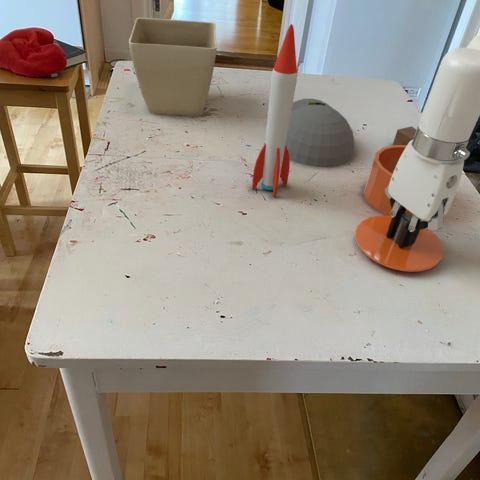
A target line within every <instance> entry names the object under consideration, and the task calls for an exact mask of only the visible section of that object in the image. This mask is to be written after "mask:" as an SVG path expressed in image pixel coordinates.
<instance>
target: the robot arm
mask: <svg viewBox="0 0 480 480" xmlns="http://www.w3.org/2000/svg"><path fill="white" fill-rule="evenodd" d="M479 118H480V31H479V32H477V34H476V35H475V36H474V37H473V38H472V40H470V42H469V43H468V44H467V46H466V47H456V48H453V49H451V50H450V51H447V52H446V53H445V55H444V56H443V58H442V60H441V61H440V64H439V66H438V69H437V72H436V74H435V77H434V81H433V83H432V86H431V88H430V92H429V94H428V97H427V99H426V102H425V105H424V107H423V110H422V113H421V116H420V119H419V121H418V125H417V127H416V129H417V130H416V133H415V135H414V138H413V140H411V141H410V142H409V143H408V145H407V146H406V148H405V150H404V151H403V153H402V155H401V157H400V159H399V161H398V163H397V165H396V167H395V170H394V172H393V175H392V177H391V180H390V183H389V185H388V186H387V187H386V188H385V193H386V195H387V197H388V198H389V199H390V205H391V208H392V210H391V216H392V220H391V222H390V225H389V228H388V232H387V234H386V237H388V238H392V237H393V236H394V233H395V231H396V228H397V226H398V223H399V221H400V218H401V216H402V214H405V213H407V211H408V210H409V211H410V212H412V213H413V216H412V219H411V222H410V225H409V227H408V228H405V229H404V232H403V234H402V237H401V239H400V242H399V244H398V247H399V248H404V247H407V246H410V245H412V244H414V242H415V241H416V238H417V236H418V234H419V231H420V230H421V229H425V228H426V229H429V230H430V231H438V230H441V229H443V228H444V227H443V226H444V217H445V216H446V215H447V214H448V212H449V211H450V208H451V206H452V203H453V201H454V199H455V197H456V193H457V192H458V187H459V185H460V182H461V179H462V175H463V170H464V164H465V160H467V159H468V158H469V157H470V154H471V152H470V151H469V150H468V148H467V146H468V144H469V140H470V138H471V136H472V133H473V131H474V129H475V127H476V124H477V122H478V120H479Z"/></svg>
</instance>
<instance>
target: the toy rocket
mask: <svg viewBox="0 0 480 480" xmlns="http://www.w3.org/2000/svg"><path fill="white" fill-rule="evenodd" d="M295 41H296V39H295V28H294V25H293V23H291V24H289V26H288V28H287V31H286V33H285V36H284V39H283V42H282V44H281V46H280V50H279V53H278V55H277V58H276V61H275V63H274V66H273V68H272V72H271V79H270V89H269V99H268V109H267V118H266V129H265V138H264V144H263V146H262V147H261V149H260V151H259V153H258V156H257V158H256V160H255V164H254V167H253V173H252V183H251V190H252V191H255V190H256V189H257V186H258V185H259V183H260V186H261V188H262V189H264V190H267V191H272V197H273V198H274V199H276V198H277V193H278V188H279V185H280V180H281V184H282V187H283V188H287V187H288V180H289V174H290V165H291V164H290V162H291V160H290V159H289V153H288V149H287V147H286V139H287V133H288V127H289V122H290V116H291V110H292V105H293V102H294V99H295V94H296V93H295V92H296V87H297V81H298V65H297V53H296V42H295Z"/></svg>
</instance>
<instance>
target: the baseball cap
mask: <svg viewBox="0 0 480 480" xmlns="http://www.w3.org/2000/svg"><path fill="white" fill-rule="evenodd" d="M286 147H287V149H288V153H289V159H290V161H292V162H293V163H297V164H301V165H304V166H309V167H316V168H331V167H337V166H341V165H342V164H343V165H344V164H346V163H347V162H349V161H350V160H351V159H352V158H353V156H354V150H355V139H354V132H353V130H352V128H351V126H350V124H349V121H348V120H347V119H346V118H345V117H344V116H343V115H342V114H341V113H340V112H339V111H338V110H336V109H335V108H333V107H332V106H331V105H329V104H328V103H327V102H325V101H322V100H320V99H316V98H302V99H298V100H295V101H293V105H292V110H291V116H290V122H289V127H288V133H287V139H286Z"/></svg>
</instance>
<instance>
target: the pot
mask: <svg viewBox="0 0 480 480" xmlns="http://www.w3.org/2000/svg"><path fill="white" fill-rule="evenodd" d="M405 148H406V145H393V144H392V145H388V146H384V147H381V148H379V149H378V150H377V151H376V152H375V153H374V157H373V159H372V163H371V167H370V169H369V172H368V176H367V180H366V181H365V186H364V189H363V197H364V198H365V200H366V202H367V204H369V205H370V206H371V207H372V208H373V209H374V210H376V211H377V212H379V213H381V214H383V215H391V210H392V208H391V205H390V199H389V198H388V197H387V195H386V193H385V188H386V187H387V186H388V185H389V183H390V180H391V177H392V175H393V172H394V170H395V167H396V165H397V163H398V161H399V159H400V157H401V155H402V153H403V151H404V150H405ZM407 214H411V215H413V213H412V212H410V211H409V210H408V211H407Z"/></svg>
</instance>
